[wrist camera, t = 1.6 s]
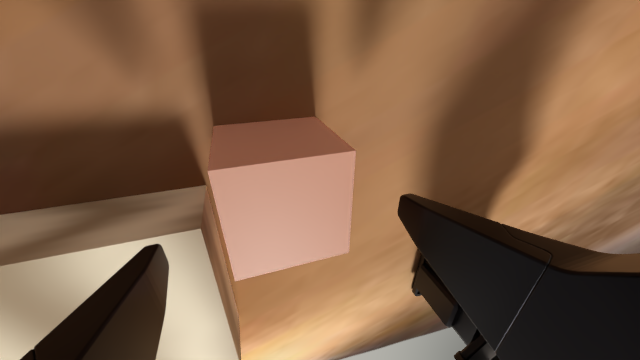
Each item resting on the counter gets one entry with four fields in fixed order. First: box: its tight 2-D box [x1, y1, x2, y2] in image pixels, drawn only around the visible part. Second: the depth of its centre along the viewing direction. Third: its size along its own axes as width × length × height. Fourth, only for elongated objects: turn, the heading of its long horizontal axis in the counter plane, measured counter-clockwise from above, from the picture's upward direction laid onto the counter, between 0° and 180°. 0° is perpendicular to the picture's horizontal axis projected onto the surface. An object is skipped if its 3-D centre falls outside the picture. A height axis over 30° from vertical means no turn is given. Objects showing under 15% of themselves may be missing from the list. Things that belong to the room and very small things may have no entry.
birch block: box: [0, 185, 241, 360], centre depth 13 cm, size 11×11×4 cm
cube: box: [208, 117, 356, 281], centre depth 12 cm, size 5×5×5 cm
